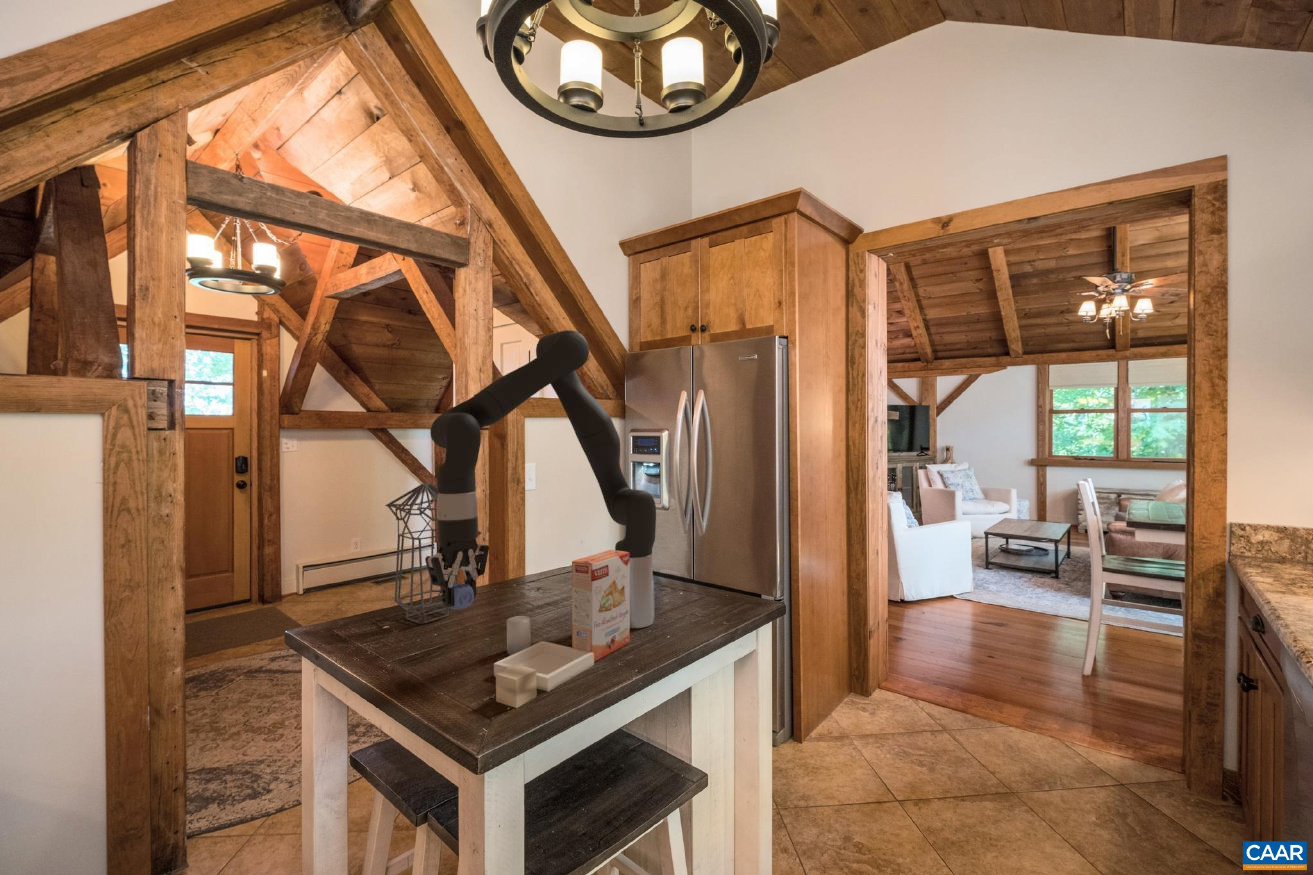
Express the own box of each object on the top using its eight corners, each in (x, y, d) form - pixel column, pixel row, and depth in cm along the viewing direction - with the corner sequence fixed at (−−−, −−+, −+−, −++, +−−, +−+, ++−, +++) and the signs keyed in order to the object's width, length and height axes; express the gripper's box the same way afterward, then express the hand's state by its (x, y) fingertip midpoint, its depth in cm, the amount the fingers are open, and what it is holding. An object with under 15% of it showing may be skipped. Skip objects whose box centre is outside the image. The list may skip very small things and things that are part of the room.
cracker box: (593, 664, 120) (592, 563, 120) (571, 659, 123) (569, 560, 123) (632, 643, 132) (630, 550, 132) (610, 638, 135) (609, 548, 135)
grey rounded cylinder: (518, 645, 131) (518, 614, 131) (535, 649, 129) (534, 618, 129) (502, 653, 127) (501, 621, 127) (519, 657, 125) (518, 624, 125)
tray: (542, 652, 127) (542, 640, 127) (594, 664, 120) (593, 652, 120) (493, 675, 115) (493, 663, 115) (548, 691, 108) (547, 678, 108)
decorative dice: (445, 607, 114) (444, 586, 114) (463, 602, 117) (463, 582, 117) (455, 611, 111) (455, 590, 111) (474, 606, 114) (474, 585, 114)
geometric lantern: (384, 618, 152) (382, 484, 152) (441, 604, 164) (438, 479, 163) (413, 631, 142) (411, 487, 141) (471, 615, 154) (469, 482, 153)
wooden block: (516, 691, 109) (516, 664, 109) (536, 697, 106) (536, 669, 106) (496, 701, 104) (495, 673, 104) (516, 708, 102) (516, 679, 102)
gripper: (439, 522, 106) (442, 615, 106) (498, 511, 118) (500, 595, 118) (413, 519, 110) (415, 609, 110) (472, 509, 122) (475, 590, 122)
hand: (459, 602), depth 114 cm, fingers closed on decorative dice, 4 cm apart
